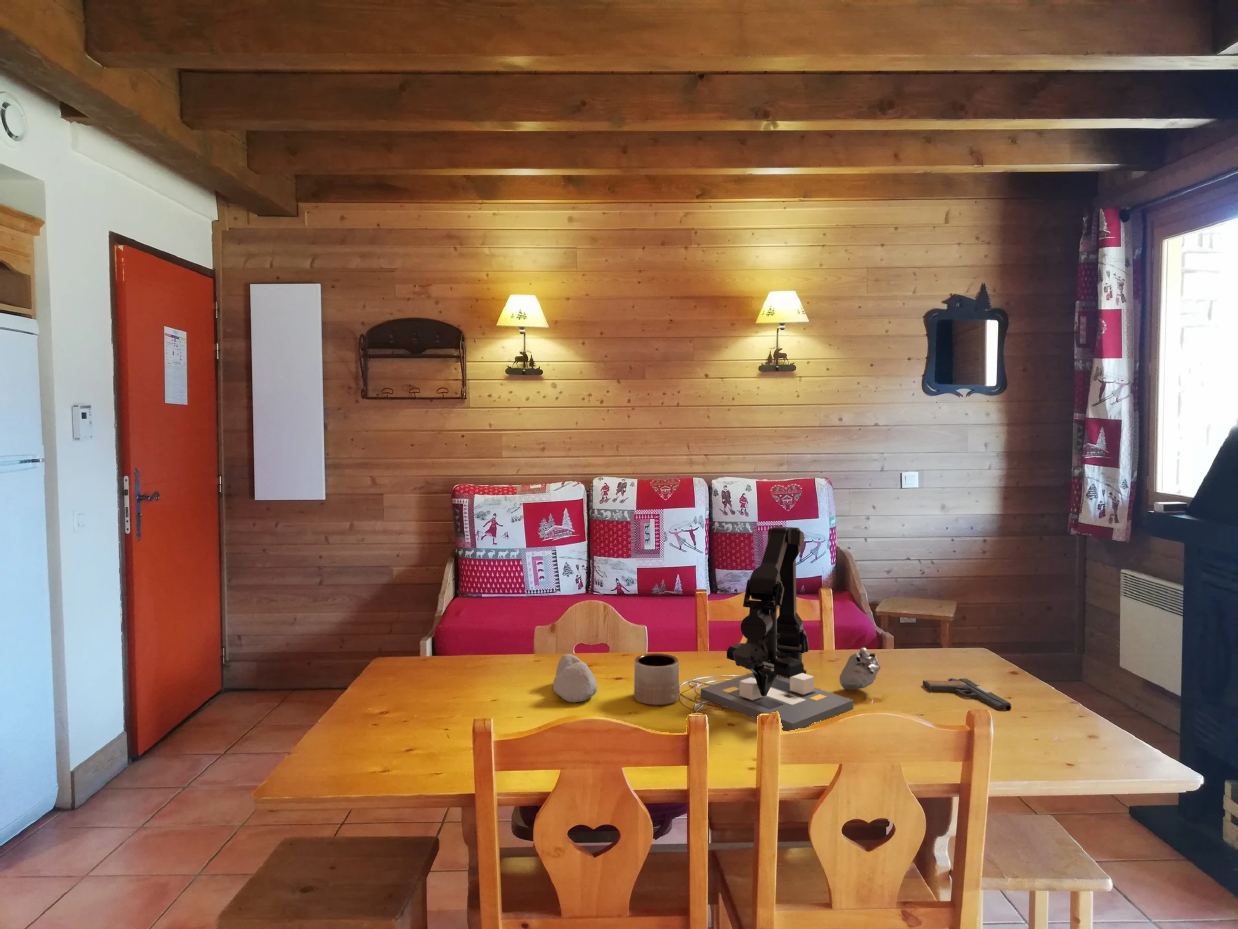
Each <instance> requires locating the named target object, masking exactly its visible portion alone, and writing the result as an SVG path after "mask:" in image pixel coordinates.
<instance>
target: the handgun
mask: <svg viewBox="0 0 1238 929" xmlns="http://www.w3.org/2000/svg"><path fill="white" fill-rule="evenodd" d="M922 686H923V687H924V689H926V690H927V691H928V692H930V693H938V692H939V693H955V694H958V695H959V696H961V697H963V698H968V699H970V698H971V699H972V698H973V699H976V700H977V699H978V700H979V701H981V702H983V703H984V704H986V705H987V706H991V707H992V708H994V709H995V710H997V711H1011V710H1012V704H1011V702H1009V701H1008V700H1006V699H1004V698H1002V697H1000V696H999V695H997V694H995V693H993V692H992V691H988V690H986V689H985V688H983V687H981V686H980V685H979V684H976V683H975V682H973V681H972V680H970V679H969V678H959V679H957V678H954V677H951V678H948V679H947V680H934V679H933V680H932V679H931V680H930V679H929V680H926V679H925V680H924V679H923V681H922Z"/></svg>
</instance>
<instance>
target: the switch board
mask: <svg viewBox="0 0 1238 929" xmlns="http://www.w3.org/2000/svg"><path fill="white" fill-rule="evenodd" d="M751 677H752V678H755V677H754V674H753V672H750V673H747V674H744V675H741V676H737V677H734V678H731V679H728V680H725V681H722V682H719V683H715V684H711V685H708V686H705V687H703V688H700V697H701V696H702V697H701V698H703V697H704V698H703V699H705V698H707V699H706V700H708V699H709V701H710V700H712V701H711V702H713V703H715V704H718V705H720V706H723V707H727V708H728V709H731V710H734V711H737V712H738V713H742V714H743V715H746V716H749V717H751V716H753V717H752V718H754V717H755V718H754V719H756V718H757V716H758V715H759V714H761V713H771V712H774V711H778V712H779V714H780V718H781V723H782V726H783V729H782V730H785V731H787V732H790V731H789V730H795V729H798V728H803V729H805V728H804V727H806V728H808V727H810V726H809V725H811V724H812V723H814V722H818V721H820V720H823V721H825V720H824V719H826V720H828V719H827V718H829V719H831V718H833V717H832V716H834V717H835V715H836V716H839V715H841V714H843V713H847V712H849V711H851V710H854V700H853V699H851V698H848V697H845V696H842V695H839V694H836V693H833V692H830V691H826V690H823V689H821V688H817V687H815V686H814V691H812V692H810V693H807V694H804V695H803V694H800V693H797V692H794V691H791V690H790V678H788V677H783V676H780V675H777V676H776V677H775V679H774V681H773V683H772V685H771V687H770V689H769V691H768V693H767V695H766V696H763V697H761V698H758V699H755V700H750V699H748V698H745V697H742V696H740V681H741V680H744V679H747V678H751ZM838 714H839V715H838ZM818 723H819V722H818ZM807 726H808V727H807ZM811 726H812V725H811Z"/></svg>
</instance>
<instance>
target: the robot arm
mask: <svg viewBox="0 0 1238 929" xmlns="http://www.w3.org/2000/svg"><path fill="white" fill-rule="evenodd" d="M766 539H767V540H766V547H765V549H764V552H763V556H762V558H761V561H760V565H759V566H758V567H756V568H754V569H753V570H752V572H751V575H750V576H749V578H748V579H747V581H746V586H745V591H744V596H743V597H744V598H743V605H742V607H743V608H747V609H748V608H749V612H748V614H747V615H746V616H745V617H744V618H743V619H742V620H741V624H740V632H741V634H742V635H743V637H744V638H746V642H745V643H744V642H740V643H736V644H733V645H730V646H728V648H727V649H726V659H728V660H731V661H733V662H735V665H736V666H737V667H742V668H744V669H746V670H749V671H751V673H753V674H754V677H755V679H756V682H757V685H758V688H759V691H760V694H761V696H766V695H767V693H768V691H769V689H770V687H771V685H772V683H773V681H774V679H775V677H776V676H777V675H778V676H781V677H784V678H790V677H792V676H795V675H798V674H801V673H804V674H807V670H806V669H805V665H804V662H803V654H805V653H808V652H809V640H808V635H807V632H806V630H804V622H803V619H802V618H801V617H800V614H799V613H798V611H797V563H796V562H797V558H798V556H799V555H800V553H801V551H802V550H803V549H802V548H803V546H804V544H805V533H804V532H803V531H802V530H800V527H795V526H794V527H792V526H791V527H790V526H772V527H769V528H768V529H767V538H766ZM778 613H779V614H778Z"/></svg>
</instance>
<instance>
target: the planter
mask: <svg viewBox="0 0 1238 929" xmlns="http://www.w3.org/2000/svg"><path fill="white" fill-rule="evenodd" d="M633 662H634V664H633V665H634V672H633V674H634V675H633V678H634V680H633V682H634V683H633V685H634V686H633V696H634V699H635V700H636V701H637V702H638V703H641V704H643V705H647V706H651V707H652V706H653V707H654V706H655V707H657V706H658V707H661V706H662V707H663V706H668V705H671V704H673V703H674V704H675V702H676V701H677V702H678V700H679V698H680V659H679V658H678V657H676V656H675V655H672V654H667V653H661V652H660V653H658V652H656V653H655V652H653V653H645V654H641V655H638V656H636V657H635V658H634V661H633Z"/></svg>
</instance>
